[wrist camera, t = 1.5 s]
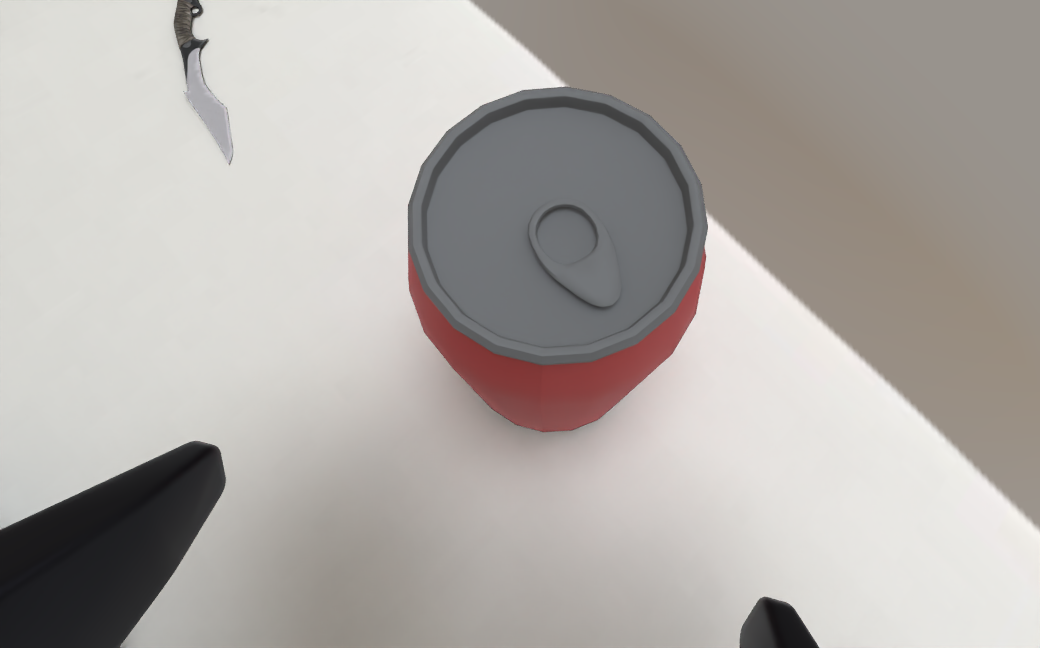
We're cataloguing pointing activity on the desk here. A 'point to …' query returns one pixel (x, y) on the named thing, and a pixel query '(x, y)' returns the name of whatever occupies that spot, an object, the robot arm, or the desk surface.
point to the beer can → (556, 252)
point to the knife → (200, 78)
